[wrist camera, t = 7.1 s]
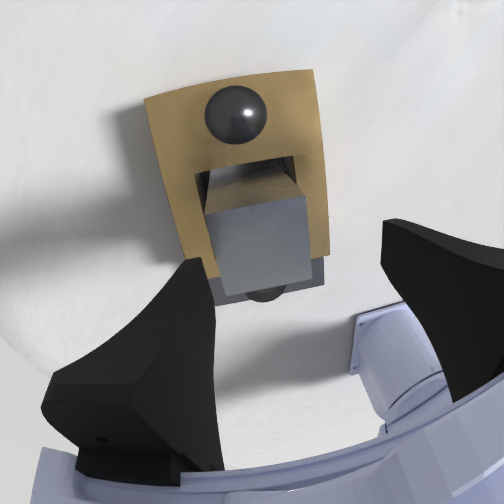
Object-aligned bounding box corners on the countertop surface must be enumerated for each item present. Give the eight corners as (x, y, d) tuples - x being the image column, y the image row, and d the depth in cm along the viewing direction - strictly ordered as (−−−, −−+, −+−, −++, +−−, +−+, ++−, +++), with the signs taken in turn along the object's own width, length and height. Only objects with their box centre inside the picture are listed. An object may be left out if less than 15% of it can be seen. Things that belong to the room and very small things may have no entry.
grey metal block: (280, 214, 20) (312, 278, 13) (223, 225, 20) (225, 296, 13) (271, 158, 18) (305, 195, 11) (210, 169, 18) (204, 214, 11)
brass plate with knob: (318, 273, 23) (335, 307, 19) (207, 295, 23) (206, 332, 19) (298, 74, 15) (319, 66, 12) (155, 99, 15) (137, 98, 12)
